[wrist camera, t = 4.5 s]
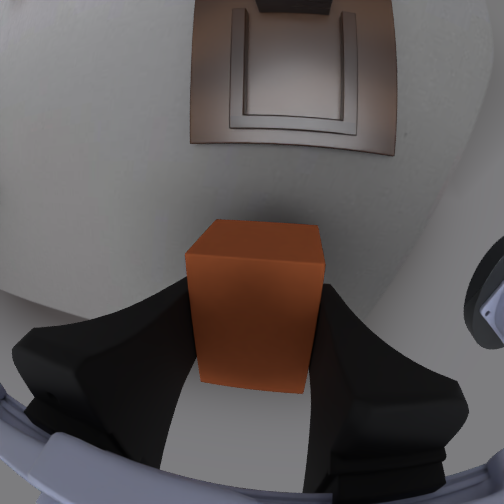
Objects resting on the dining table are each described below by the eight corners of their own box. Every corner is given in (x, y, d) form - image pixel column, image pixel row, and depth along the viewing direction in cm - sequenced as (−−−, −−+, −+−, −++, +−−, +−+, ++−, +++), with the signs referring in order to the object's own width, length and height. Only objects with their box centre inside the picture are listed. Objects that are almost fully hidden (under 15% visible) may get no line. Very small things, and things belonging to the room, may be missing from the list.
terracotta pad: (304, 337, 13) (303, 394, 10) (221, 329, 14) (200, 382, 10) (318, 225, 11) (325, 264, 8) (215, 218, 11) (184, 253, 8)
